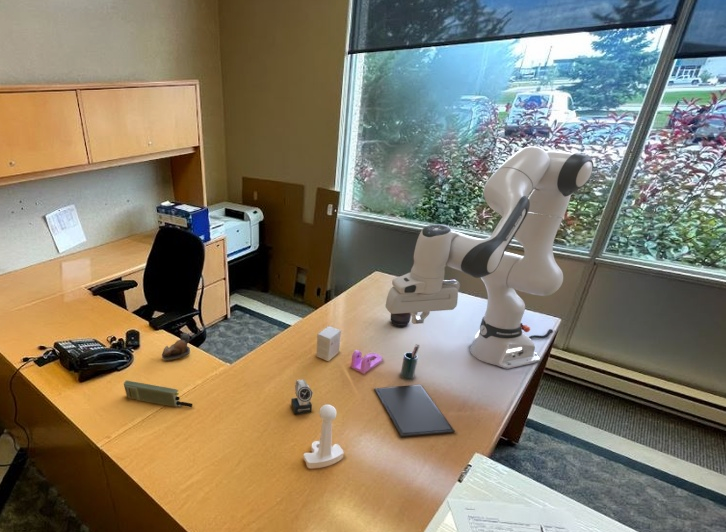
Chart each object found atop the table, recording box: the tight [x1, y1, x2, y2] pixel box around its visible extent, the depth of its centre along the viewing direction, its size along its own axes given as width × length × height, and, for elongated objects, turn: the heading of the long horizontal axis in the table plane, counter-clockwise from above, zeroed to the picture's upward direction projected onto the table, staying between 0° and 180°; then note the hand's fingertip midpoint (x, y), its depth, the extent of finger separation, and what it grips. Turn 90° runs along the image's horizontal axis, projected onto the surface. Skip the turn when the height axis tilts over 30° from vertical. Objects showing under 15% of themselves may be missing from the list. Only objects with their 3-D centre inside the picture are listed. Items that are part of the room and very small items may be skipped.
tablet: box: [374, 384, 455, 438], centre depth 133 cm, size 16×22×1 cm
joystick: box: [302, 404, 345, 469], centre depth 114 cm, size 11×8×20 cm
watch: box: [290, 379, 314, 415], centre depth 134 cm, size 6×8×11 cm
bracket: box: [350, 349, 383, 375], centre depth 154 cm, size 13×6×7 cm, turn 128°
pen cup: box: [400, 351, 419, 380], centre depth 146 cm, size 4×4×9 cm
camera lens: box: [390, 313, 412, 328], centre depth 175 cm, size 8×8×15 cm
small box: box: [315, 325, 342, 362], centre depth 160 cm, size 8×6×10 cm
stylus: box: [410, 343, 421, 359], centre depth 143 cm, size 1×1×15 cm
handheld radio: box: [123, 380, 193, 408], centre depth 142 cm, size 7×3×25 cm
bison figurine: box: [161, 332, 191, 361], centre depth 165 cm, size 12×7×10 cm, turn 106°
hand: (417, 322), depth 127 cm, fingers closed
